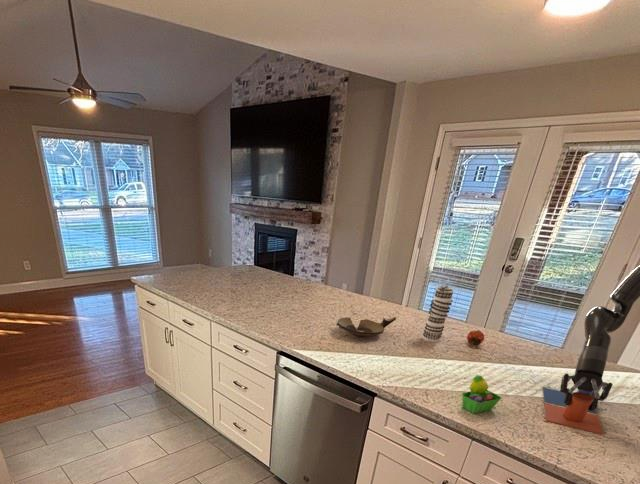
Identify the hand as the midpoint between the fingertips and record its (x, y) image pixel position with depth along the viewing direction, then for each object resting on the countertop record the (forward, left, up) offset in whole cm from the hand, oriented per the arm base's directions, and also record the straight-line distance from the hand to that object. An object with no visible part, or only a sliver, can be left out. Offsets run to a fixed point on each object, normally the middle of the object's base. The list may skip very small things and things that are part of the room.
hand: (579, 407), depth 138 cm
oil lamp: (+85, -44, -6) cm, 96 cm away
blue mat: (0, -17, -5) cm, 17 cm away
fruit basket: (+30, +8, -5) cm, 32 cm away
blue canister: (-5, -20, -5) cm, 21 cm away
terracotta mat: (0, -2, -5) cm, 6 cm away
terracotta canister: (0, -2, -5) cm, 5 cm away
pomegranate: (+36, -60, -6) cm, 70 cm away
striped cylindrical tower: (+55, -57, -5) cm, 79 cm away
